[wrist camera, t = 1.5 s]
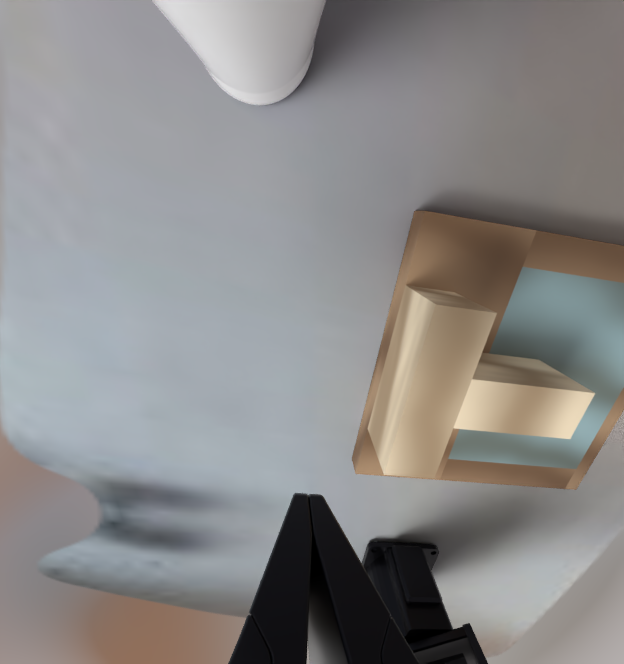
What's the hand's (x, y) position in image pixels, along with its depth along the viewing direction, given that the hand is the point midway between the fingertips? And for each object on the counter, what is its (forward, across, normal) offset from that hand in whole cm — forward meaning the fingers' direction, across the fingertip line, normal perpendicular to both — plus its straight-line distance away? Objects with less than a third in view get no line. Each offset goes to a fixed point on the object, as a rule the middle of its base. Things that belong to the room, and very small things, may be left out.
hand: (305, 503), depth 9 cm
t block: (+10, -10, 0) cm, 15 cm away
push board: (+12, -14, 0) cm, 19 cm away
